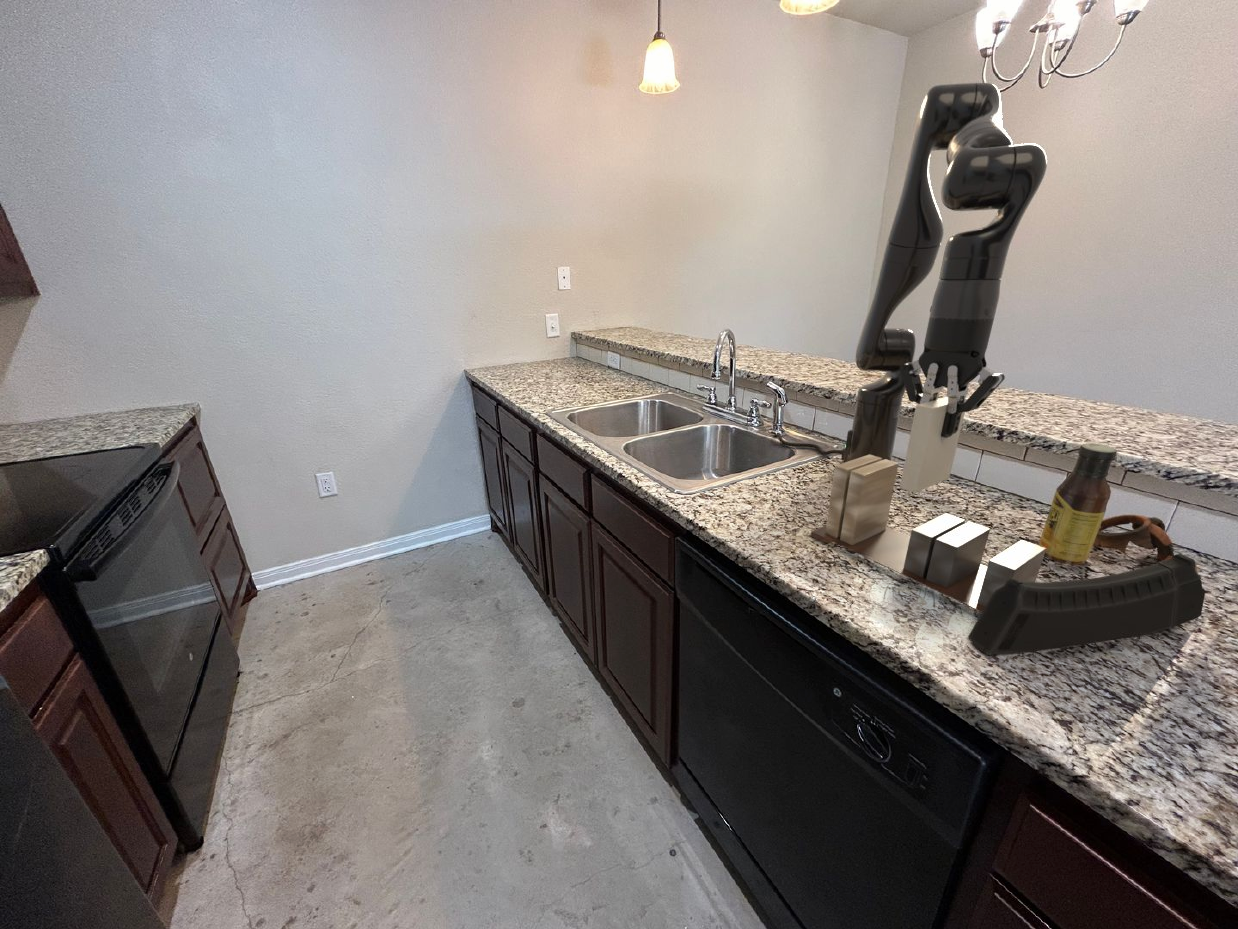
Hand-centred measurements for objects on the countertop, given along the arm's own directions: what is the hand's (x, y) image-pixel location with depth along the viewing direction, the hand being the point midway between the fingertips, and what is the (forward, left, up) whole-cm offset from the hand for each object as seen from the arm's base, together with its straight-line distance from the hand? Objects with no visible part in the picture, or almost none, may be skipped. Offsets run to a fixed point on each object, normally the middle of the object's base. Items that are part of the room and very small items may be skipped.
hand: (935, 433), depth 75 cm
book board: (+1, 0, -22) cm, 22 cm away
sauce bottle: (+14, +20, -22) cm, 33 cm away
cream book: (0, 0, -8) cm, 8 cm away
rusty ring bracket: (+20, +31, -22) cm, 43 cm away
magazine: (+23, -1, -22) cm, 32 cm away
